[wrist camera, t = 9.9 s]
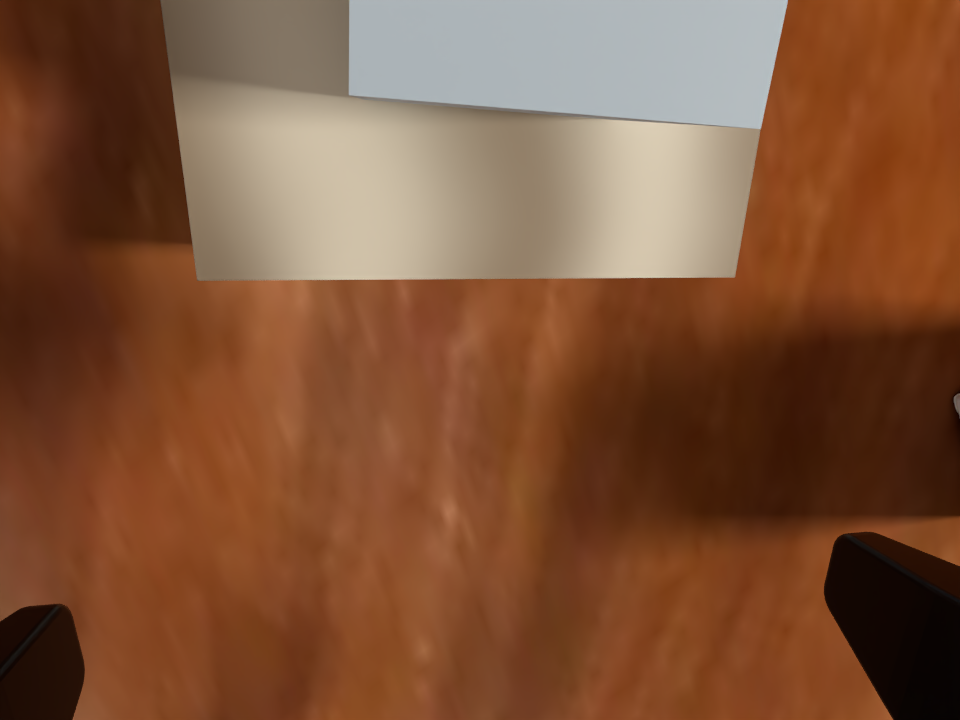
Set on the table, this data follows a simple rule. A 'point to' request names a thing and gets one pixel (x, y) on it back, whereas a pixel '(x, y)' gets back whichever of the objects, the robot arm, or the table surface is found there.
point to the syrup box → (957, 403)
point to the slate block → (571, 57)
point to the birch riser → (424, 169)
